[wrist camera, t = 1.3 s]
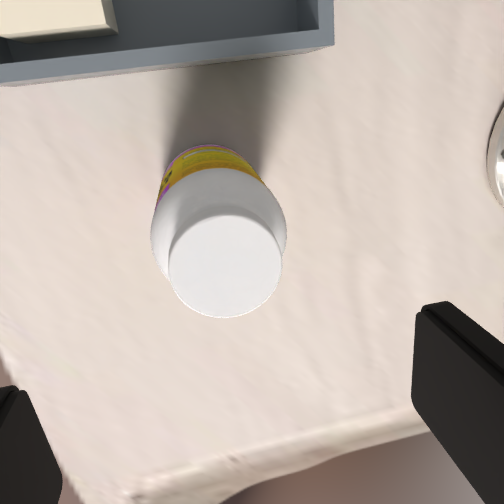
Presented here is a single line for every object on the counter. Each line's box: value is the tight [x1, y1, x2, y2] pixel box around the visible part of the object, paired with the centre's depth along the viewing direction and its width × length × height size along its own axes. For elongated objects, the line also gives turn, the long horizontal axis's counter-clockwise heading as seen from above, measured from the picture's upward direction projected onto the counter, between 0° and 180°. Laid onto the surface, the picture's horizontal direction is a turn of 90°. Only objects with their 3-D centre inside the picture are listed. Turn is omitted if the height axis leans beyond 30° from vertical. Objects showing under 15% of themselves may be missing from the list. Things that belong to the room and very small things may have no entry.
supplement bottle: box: [151, 144, 287, 318], centre depth 22 cm, size 7×7×13 cm
